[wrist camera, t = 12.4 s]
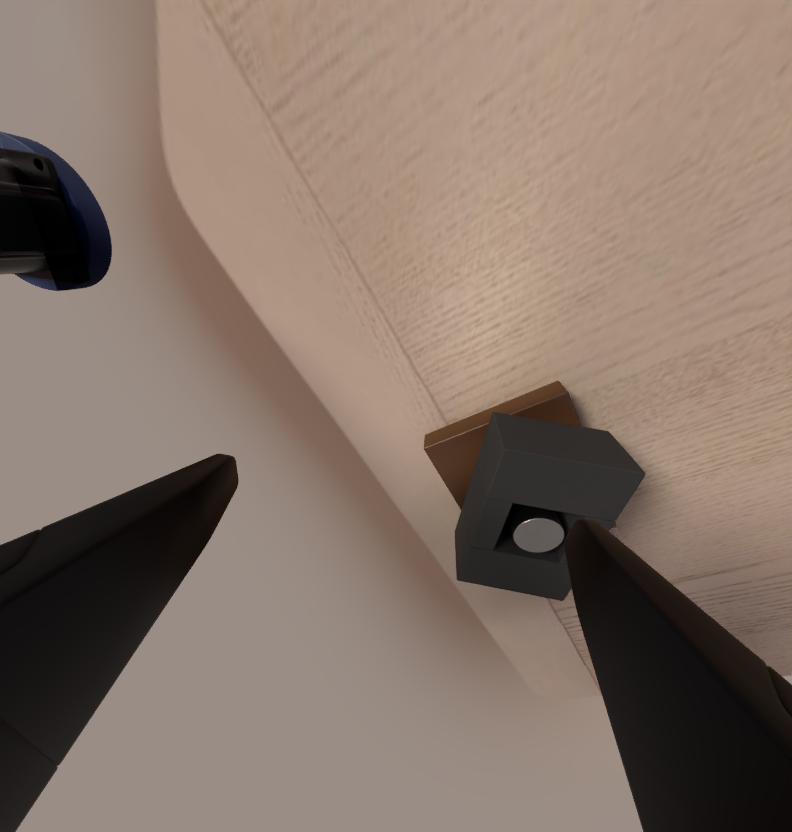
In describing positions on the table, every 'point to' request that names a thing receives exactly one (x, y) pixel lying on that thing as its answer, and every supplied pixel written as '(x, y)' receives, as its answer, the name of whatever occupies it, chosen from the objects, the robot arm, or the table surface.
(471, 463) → the base pad
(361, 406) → the table surface
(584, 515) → the black sloped block
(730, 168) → the table surface
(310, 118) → the table surface
